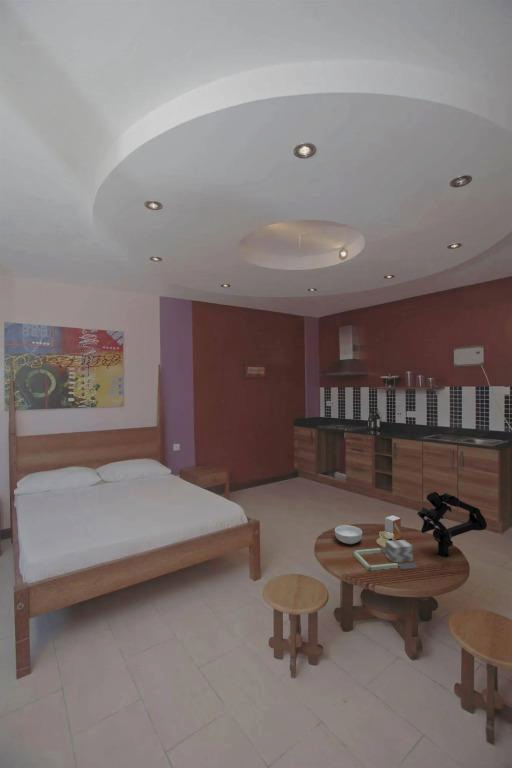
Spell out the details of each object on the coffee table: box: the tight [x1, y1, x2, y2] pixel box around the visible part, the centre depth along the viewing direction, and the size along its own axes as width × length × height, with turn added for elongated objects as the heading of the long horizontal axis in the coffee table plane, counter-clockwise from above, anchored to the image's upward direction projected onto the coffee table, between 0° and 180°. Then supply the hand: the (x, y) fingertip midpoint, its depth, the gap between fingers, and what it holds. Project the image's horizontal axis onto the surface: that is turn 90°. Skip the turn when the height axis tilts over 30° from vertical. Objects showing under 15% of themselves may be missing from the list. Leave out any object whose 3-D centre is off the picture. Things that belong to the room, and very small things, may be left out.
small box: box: [384, 514, 402, 541], centre depth 228 cm, size 8×6×13 cm
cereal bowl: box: [334, 524, 363, 545], centre depth 224 cm, size 17×17×7 cm
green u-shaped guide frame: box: [352, 547, 420, 572], centre depth 200 cm, size 28×23×2 cm
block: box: [385, 539, 414, 563], centre depth 202 cm, size 12×8×8 cm, turn 99°
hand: (421, 532), depth 205 cm, fingers closed
